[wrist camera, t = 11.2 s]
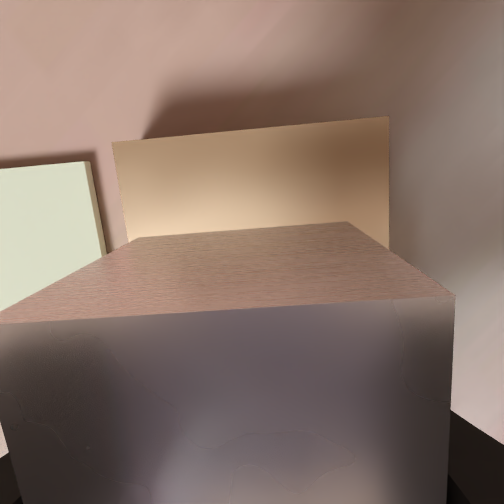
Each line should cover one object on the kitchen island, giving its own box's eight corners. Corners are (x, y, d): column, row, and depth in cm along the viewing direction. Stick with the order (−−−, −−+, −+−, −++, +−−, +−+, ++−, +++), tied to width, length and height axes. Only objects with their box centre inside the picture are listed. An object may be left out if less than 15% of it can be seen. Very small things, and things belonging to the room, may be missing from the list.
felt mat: (135, 408, 21) (131, 415, 20) (-28, 416, 22) (-36, 423, 21) (89, 161, 18) (83, 161, 17) (-100, 178, 18) (-112, 179, 18)
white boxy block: (354, 500, 10) (433, 805, 5) (181, 505, 11) (106, 796, 6) (347, 221, 8) (454, 294, 4) (138, 237, 9) (-27, 325, 4)
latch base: (371, 428, 21) (437, 595, 13) (182, 436, 21) (130, 598, 13) (368, 124, 17) (458, 86, 9) (137, 146, 17) (27, 129, 9)
